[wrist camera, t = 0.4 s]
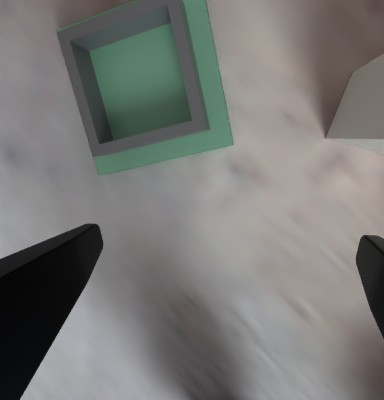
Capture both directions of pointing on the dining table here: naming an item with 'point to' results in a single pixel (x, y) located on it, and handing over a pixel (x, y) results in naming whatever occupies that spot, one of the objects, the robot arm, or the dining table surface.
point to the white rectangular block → (362, 109)
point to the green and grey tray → (147, 82)
